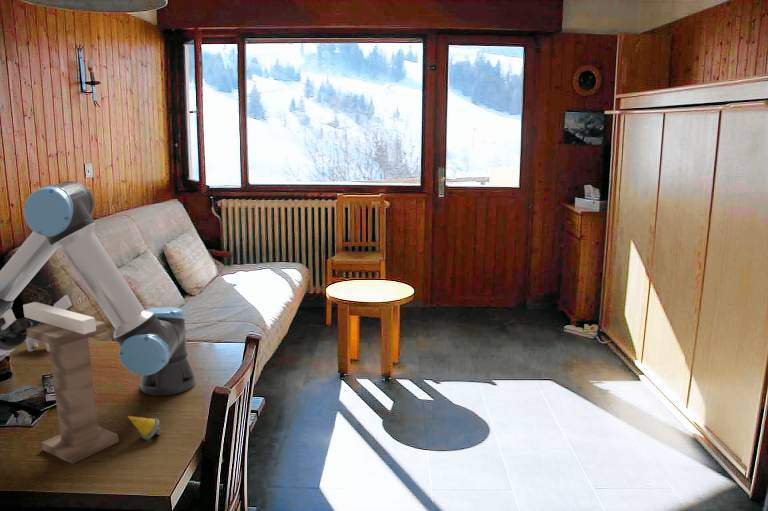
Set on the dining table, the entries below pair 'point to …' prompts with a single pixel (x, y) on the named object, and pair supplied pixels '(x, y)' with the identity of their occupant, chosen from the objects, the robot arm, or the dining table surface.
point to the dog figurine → (30, 341)
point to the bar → (60, 317)
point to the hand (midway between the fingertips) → (41, 307)
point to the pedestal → (73, 393)
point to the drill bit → (146, 426)
